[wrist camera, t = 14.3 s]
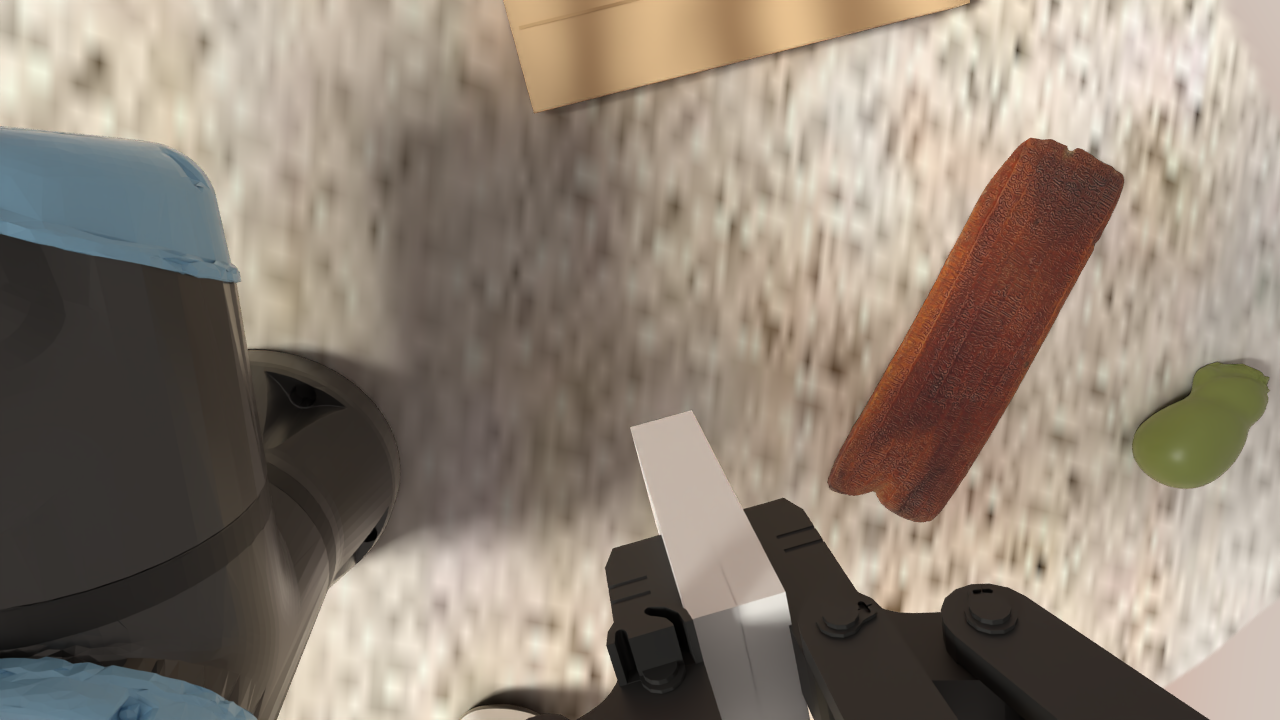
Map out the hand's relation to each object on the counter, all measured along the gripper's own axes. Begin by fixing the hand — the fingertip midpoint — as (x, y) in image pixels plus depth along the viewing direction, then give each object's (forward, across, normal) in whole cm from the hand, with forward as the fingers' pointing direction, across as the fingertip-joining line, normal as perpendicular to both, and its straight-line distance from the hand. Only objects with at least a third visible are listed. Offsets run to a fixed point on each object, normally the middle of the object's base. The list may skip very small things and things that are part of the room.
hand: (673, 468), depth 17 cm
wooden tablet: (+27, +23, -13) cm, 38 cm away
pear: (+27, +38, -23) cm, 52 cm away
